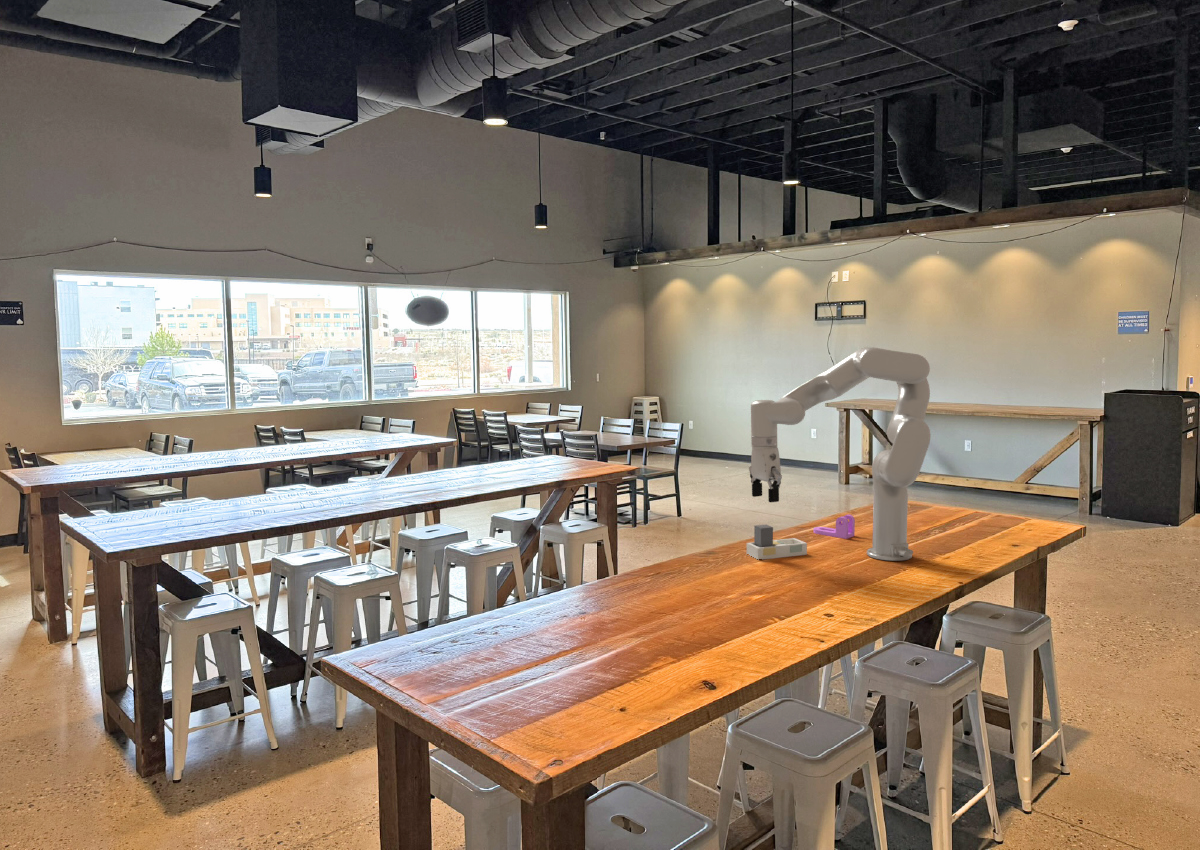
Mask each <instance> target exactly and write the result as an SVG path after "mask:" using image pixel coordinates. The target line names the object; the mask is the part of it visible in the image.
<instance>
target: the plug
mask: <svg viewBox="0 0 1200 850" xmlns="http://www.w3.org/2000/svg"><path fill="white" fill-rule="evenodd" d="M753 536H754V540H753V541H754V545H755V546H758V547H770V546H773V540H774V527H773V526H771V525H769V524H759V525H758V524H757V525H754V535H753Z"/></svg>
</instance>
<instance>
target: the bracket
mask: <svg viewBox="0 0 1200 850" xmlns="http://www.w3.org/2000/svg"><path fill="white" fill-rule="evenodd" d="M855 521H856V520H855V517H854V516H853V515H852V514H845V515H844V516H840V517H837V519H836V520H835V528H832V527H826V526H816V527H813V533H814V534H816V535H820V536H821V535H822V536H828V537H833V538H840V539H843V540H844V539H845V540H846V539H847V540H848V539H850V538H852V537H854V536H855V532H856V530H855V528H856V527H855V525H856V523H855Z"/></svg>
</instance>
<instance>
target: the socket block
mask: <svg viewBox="0 0 1200 850" xmlns="http://www.w3.org/2000/svg"><path fill="white" fill-rule="evenodd" d="M747 554H749V555H750V556H749V555H748V556H749V557H751V556H752V557H751V558H753V557H754V558H753V559H755V558H756V559H755V560H757V559H758V560H757V561H760V560H759V559H762V560H769V559H780V558H788V557H797V556H805V555H807V554H808V543H807V542H805V541H803V540H800V539H798V538H796V537H795V538H794V537H791V538H781V539H773V546H770V547H758V546H755V545H754V542H746V555H747Z"/></svg>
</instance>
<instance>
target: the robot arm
mask: <svg viewBox="0 0 1200 850" xmlns="http://www.w3.org/2000/svg"><path fill="white" fill-rule="evenodd" d="M930 370H931V368H930V363H929V361H928V360H927V358H926V357H924V356H923V355H921V354H919V353H911V352H903V351H897V350H896V351H895V350H890V349H884V348H880V347H869V346H867V347H866V346H865V347H864V346H863V347H861V348H859V349H857V350H855V351H854V352H852V353H851V354H849V355H847V356H846V357H845V358H843V359H842V360H840V361H839V362H836V363H835V364H833V365H832V366H831V367H829V368H827V369H826V370H824V371H823V372H821V373H819V374H818V375H816V376H814V377H812V378H811V379H810V380H808V381H805V382H804V383H802V384H801V385H799V386H798V387H795V388H794V389H793V390H791V391H790V392H788V393H787V394H785V395H783V396H782V397H780V398H779V399H778V400H777V401H775V400H773V399H772V400H771V399H759V400H758V399H757V400H753V401H752V402H751V404H750V427H751V429H750V430H751V431H750V432H751V433H750V436H751V438H750V440H751V455H750V456H751V460H750V466H748V471H749V474H750V475H749V477H750V479H751V480H750V483H751V496H752V497H753V498H757V497H763V482H767V484H768V487H769V488H768V492H767V493H768V503H777V502H779V501H780V488H781V484H782V478H783V475H782V473H781V471H782V470H781V457H780V453H779V452H780V451H779V447H778V425H785V426H786V425H787V426H796V425H798V424H800V423H801V422H802V421H803V420H804V418H805V417H806V411H808V410H809V409H812V408H813V407H814V406H817V405H819V404H821V403H823V402H828V401H831V400H834V399H837V398H839V397H841V396H842V395H845V394H846V393H847V392H849V391H850V390H851V389H853V388H855V387H857V385H859V384H861V383H863V382H865V381H866V380H868V379H869V378H873V379H878V380H883V381H888V382H889V381H891V382H896V384H897V389H898V395H897V399H896V404H895V407H894V408H893V409H894V410H893V413H892V415H891V418H890V421H889V423H888V427H887V429H886V435H887V439H888V441H889V442H890V443H891V444H892V446H891V449H884V450H881V451H880V452H878V453H877V455H875V456H874V459H873V462H872V465H871V473H872V482H873V483H872V484H873V506H872V507H873V508H872V510H873V511H872V512H873V513H872V515H873V516H872V547H870V548H868V549H866V554H867V556H868V557H870V558H873V559H877V560H882V561H893V562H894V561H895V562H899V561H900V562H902V561H907V560H910V559H912V557H913V554H914V550H912V549H910V548H909V543H908V540H907V539H908V506H909V499H908V498H909V493H908V492H909V491H908V487H909V486H911V485H913V483H914V482H915V481H916V480H917V478H918V476H919V474H920V472H921V470H922V466H923V463H924V460H925V458H926V455H927V452H928V449H929V445H930V442H931V429H930V427H929V425H928V424H927V422H925V421H924V419H925V416H926V413H927V411H928V410H927V409H928V406H929V403H930V402H929V401H930V397H931V395H930V394H931V390H930V384H929V380H928V378H927V377H928V376H929V375H930V372H931V371H930ZM762 481H763V482H762Z"/></svg>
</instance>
